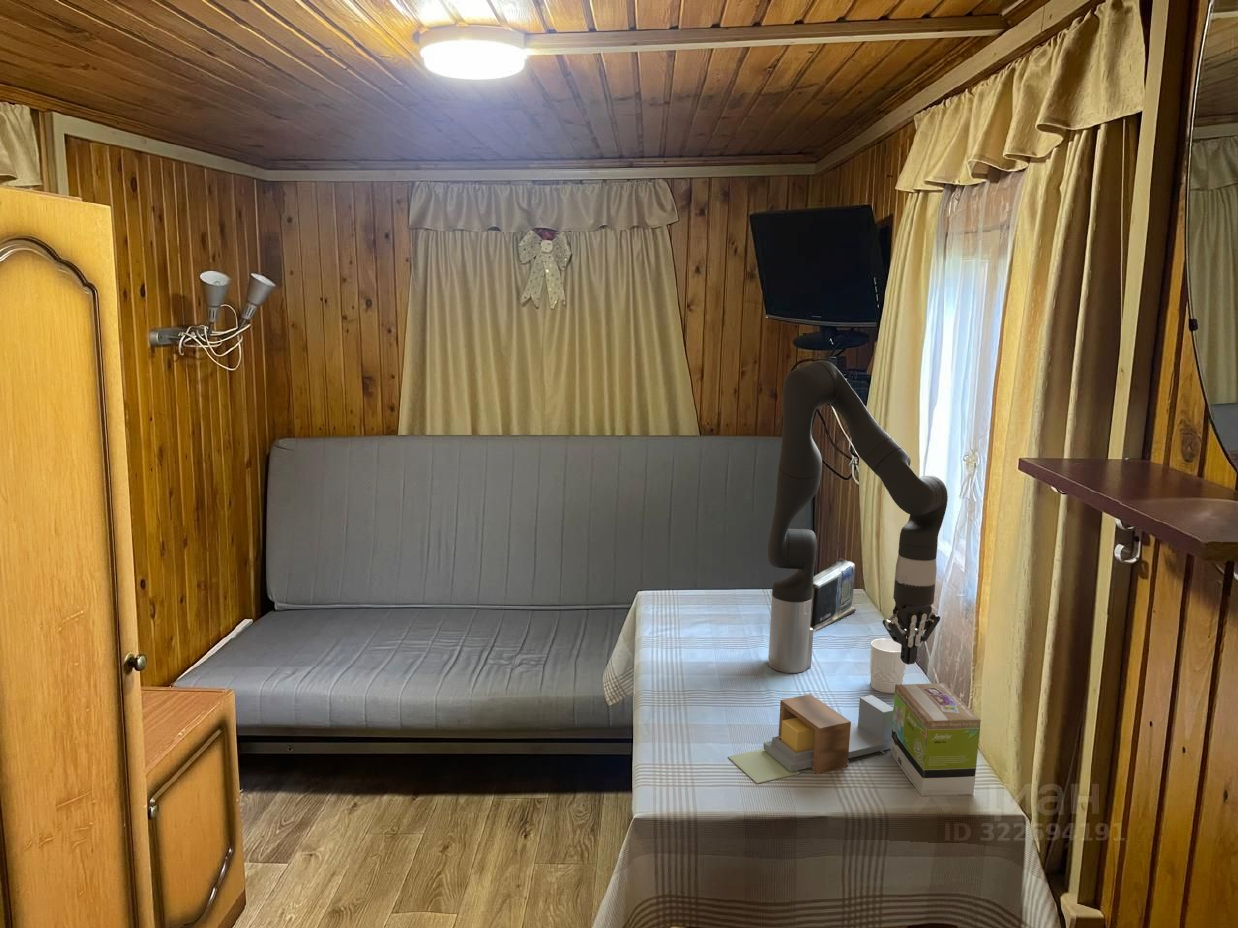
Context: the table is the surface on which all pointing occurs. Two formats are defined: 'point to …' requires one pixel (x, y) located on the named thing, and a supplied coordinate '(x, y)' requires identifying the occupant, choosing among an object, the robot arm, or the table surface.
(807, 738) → the block
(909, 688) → the tea box
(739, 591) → the table surface
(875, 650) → the white cup
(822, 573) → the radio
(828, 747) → the tunnel
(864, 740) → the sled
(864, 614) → the table surface
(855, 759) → the mat
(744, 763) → the mat
